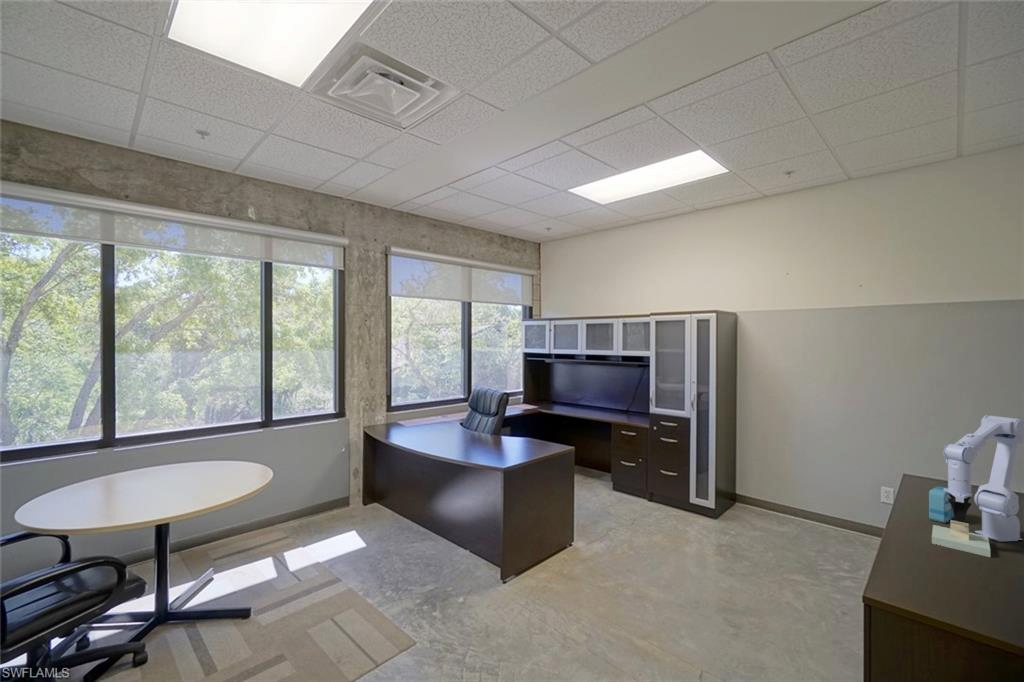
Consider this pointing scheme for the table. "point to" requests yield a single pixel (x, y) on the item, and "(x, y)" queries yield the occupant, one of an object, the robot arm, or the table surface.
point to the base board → (961, 541)
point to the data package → (940, 505)
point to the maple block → (959, 530)
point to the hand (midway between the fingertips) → (959, 517)
